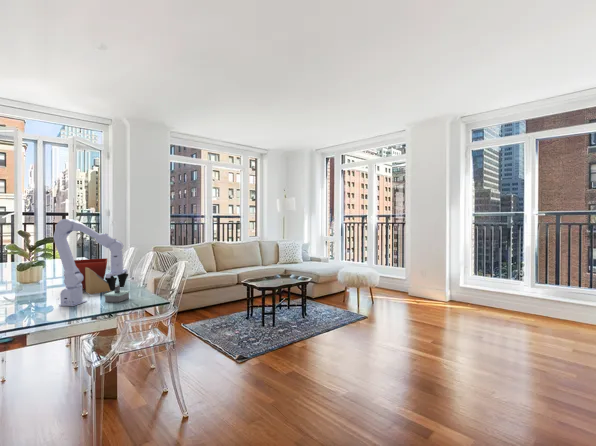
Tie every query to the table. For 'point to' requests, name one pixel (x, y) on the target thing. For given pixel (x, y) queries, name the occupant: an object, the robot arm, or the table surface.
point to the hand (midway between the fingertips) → (117, 288)
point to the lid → (116, 292)
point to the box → (117, 298)
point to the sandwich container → (95, 282)
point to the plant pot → (91, 267)
